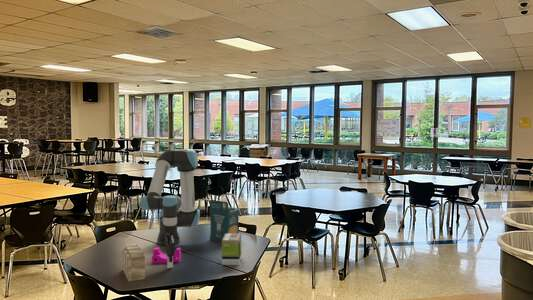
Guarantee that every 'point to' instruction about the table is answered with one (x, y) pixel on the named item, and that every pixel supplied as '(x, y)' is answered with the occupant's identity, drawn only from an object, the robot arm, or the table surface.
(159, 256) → the toy block
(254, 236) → the table surface
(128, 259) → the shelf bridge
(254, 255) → the table surface
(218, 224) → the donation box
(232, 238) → the tea box
